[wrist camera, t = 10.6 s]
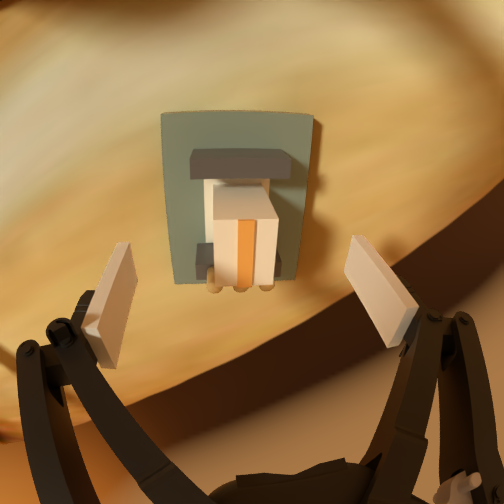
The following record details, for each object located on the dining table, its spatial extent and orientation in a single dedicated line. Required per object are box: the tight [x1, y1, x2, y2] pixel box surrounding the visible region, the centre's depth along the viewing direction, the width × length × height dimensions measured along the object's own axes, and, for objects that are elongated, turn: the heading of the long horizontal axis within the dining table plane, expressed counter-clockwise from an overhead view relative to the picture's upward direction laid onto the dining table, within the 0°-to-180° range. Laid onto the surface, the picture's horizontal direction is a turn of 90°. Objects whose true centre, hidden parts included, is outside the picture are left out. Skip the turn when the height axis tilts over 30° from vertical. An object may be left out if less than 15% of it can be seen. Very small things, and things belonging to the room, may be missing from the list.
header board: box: [161, 110, 314, 293], centre depth 23 cm, size 16×12×7 cm
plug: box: [213, 184, 279, 288], centre depth 22 cm, size 5×4×7 cm
